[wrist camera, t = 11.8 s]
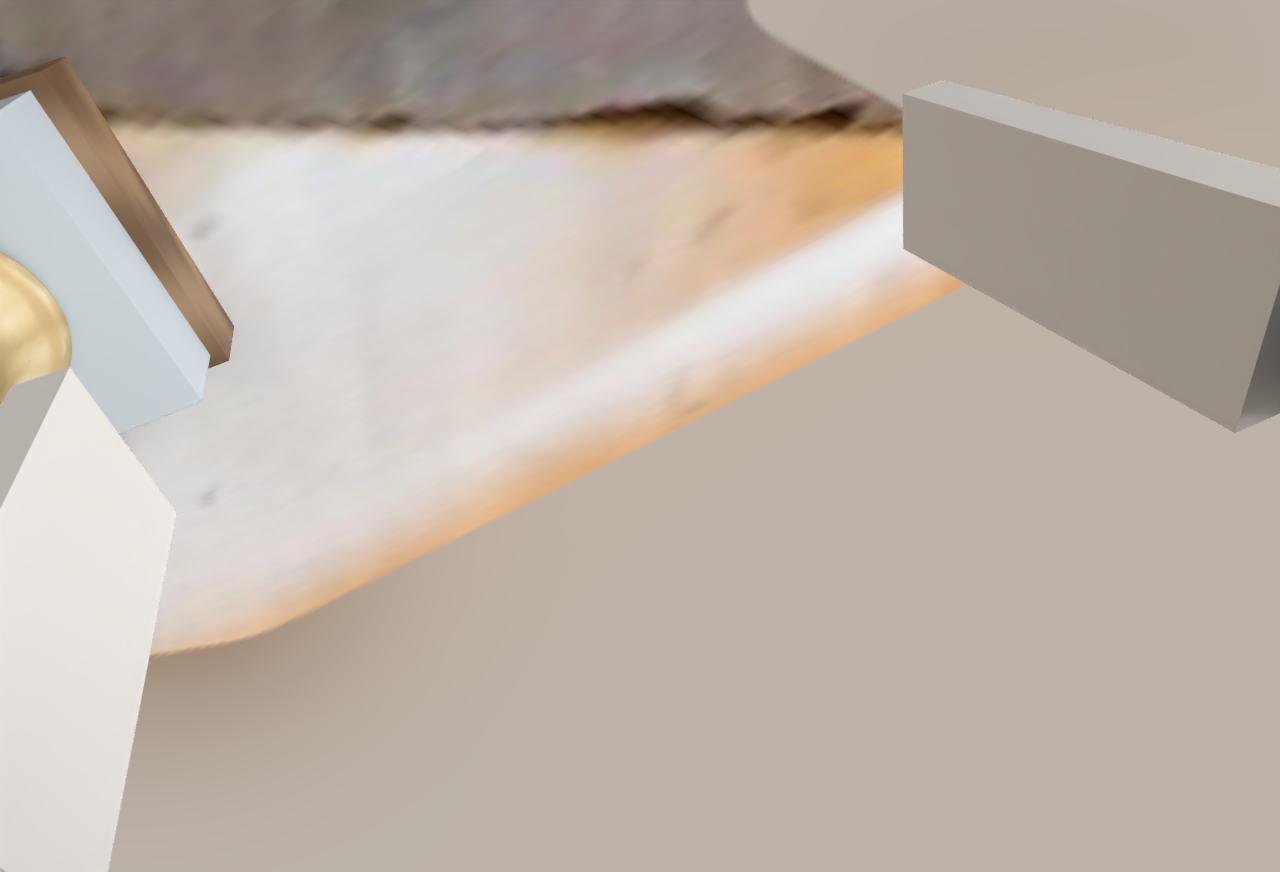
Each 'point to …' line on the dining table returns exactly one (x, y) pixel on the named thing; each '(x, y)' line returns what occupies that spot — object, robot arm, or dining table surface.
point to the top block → (93, 276)
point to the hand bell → (29, 328)
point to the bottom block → (126, 196)
